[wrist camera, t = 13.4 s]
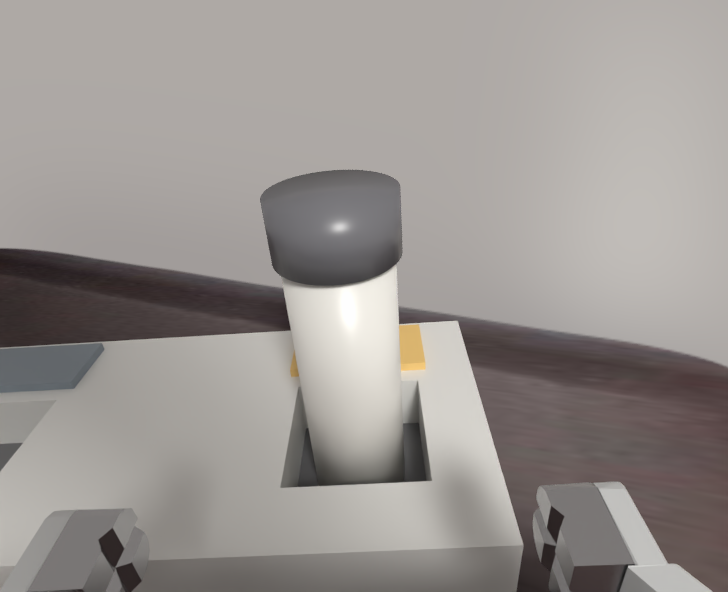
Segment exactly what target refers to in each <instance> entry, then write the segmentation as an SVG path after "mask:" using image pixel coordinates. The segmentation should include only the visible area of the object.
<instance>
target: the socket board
mask: <svg viewBox="0 0 728 592" xmlns="http://www.w3.org/2000/svg"><path fill="white" fill-rule="evenodd" d="M399 339H400V363H401V387H402V411H403V435H404V460H405V478H404V482H399V483H377V484H356V485H334V486H319V484H318V479H317V473H316V467H315V462H314V456H313V451H312V445H311V440H310V434H309V428H308V423H307V417H306V412H305V406H304V401H303V395H302V389H301V384H300V378H299V373H298V367H297V362H296V356H295V351H294V345H293V339H292V334H291V331H277V332H260V333H243V334H226V335H209V336H192V337H175V338H158V339H141V340H124V341H107V342H90V343H73V344H56V345H39V346H22V347H6V348H0V589H1V588H2V586H3V585H4V583H5V581H6V580H7V578H8V577H9V575H10V573H11V572H12V570H13V569H14V567H15V566H16V564H17V562H18V561H19V559H20V558H21V556H22V555H23V553H24V551H25V550H26V548H27V547H28V545H29V543H30V542H31V540H32V539H33V537H34V536H35V534H36V532H37V531H38V529H39V528H40V526H41V524H42V523H43V521H44V520H45V518H46V517H48V516H49V515H50V514H51V513H52V512H54V511H61V510H88V509H119V508H132V509H133V511H134V513H135V514H136V516H137V518H138V519H137V521H136V523H135V526H136V527H137V528H139V529H140V530H142V531H144V532H145V534H146V536H147V538H148V542H149V549H150V552H149V559H148V566H147V569H146V572H145V574H144V577H143V580H142V582H141V583H140V584H139V585H138V586H137V587H136V588H135V589H134V590H133V591H132V592H516V591H517V584H518V578H519V571H520V565H521V558H522V552H523V542H522V538H521V535H520V532H519V528H518V525H517V521H516V518H515V515H514V511H513V508H512V505H511V501H510V498H509V494H508V491H507V488H506V484H505V481H504V477H503V474H502V471H501V467H500V464H499V460H498V457H497V454H496V450H495V447H494V443H493V440H492V437H491V433H490V430H489V427H488V423H487V420H486V416H485V413H484V410H483V406H482V403H481V399H480V396H479V393H478V389H477V386H476V382H475V379H474V376H473V372H472V369H471V365H470V362H469V359H468V355H467V352H466V348H465V345H464V342H463V338H462V335H461V332H460V328H459V325H458V321H446V322H430V323H413V324H399Z"/></svg>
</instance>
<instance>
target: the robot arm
mask: <svg viewBox="0 0 728 592" xmlns="http://www.w3.org/2000/svg"><path fill="white" fill-rule="evenodd" d="M536 499H537V502H538V505H539V507H540V508H538V509H537V510H536V511H535V512H534V516H533V533H534V541H535V545H536V549H537V553H538V556H539V559H540V562H541V564H542V565H543V566H545V567H546V568H547V569H548V570H549V571H550V572H551V574H550V580H549V585H548V587H549V590H550V592H712V591H711V590H710V589H709V588H707V587H706V586H705V585H703V584H702V583H701V582H699V581H698V580H697V579H696V578H694V577H693V576H692V575H690V574H689V573H688V572H687V571H685V570H684V569H683V568H681V567H680V566H679V565H678V564H668V563H667V561H666V559H665V558H664V556H663V554H662V552H661V550H660V549H659V547H658V545H657V543H656V542H655V540H654V538H653V536H652V534H651V533H650V531H649V529H648V527H647V525H646V524H645V522H644V520H643V518H642V517H641V515H640V513H639V511H638V509H637V508H636V506H635V504H634V502H633V501H632V499H631V497H630V495H629V493H628V492H627V490H626V488H625V486H623V485H622V484H621V483H620V482H601V483H590V482H588V483H574V484H559V485H544V486H540V487H539V488H538V490H537V496H536ZM137 519H138V518H137V516H136V514H135V513H134V511H133V509H132V508H119V509H88V510H61V511H54V512H52V513H51V514H50V515H49V516H48V517H46V518H45V520H44V521H43V523H42V524H41V526H40V528H39V529H38V531H37V532H36V534H35V536H34V537H33V539H32V540H31V542H30V543H29V545H28V547H27V548H26V550H25V551H24V553H23V555H22V556H21V558H20V559H19V561H18V562H17V564H16V566H15V567H14V569H13V570H12V572H11V573H10V575H9V577H8V578H7V580H6V581H5V583H4V585H3V586H2V588H1V589H0V592H132V591H133V590H134V589H135V588H136V587H137V586H138V585H139V584H140V583H141V582H142V580H143V577H144V574H145V572H146V569H147V566H148V559H149V552H150V549H149V542H148V538H147V536H146V534H145V532H144V531H142V530H140V529H139V528H137V527H136V526H135V523H136V521H137Z"/></svg>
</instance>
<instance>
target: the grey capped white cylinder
mask: <svg viewBox="0 0 728 592" xmlns="http://www.w3.org/2000/svg"><path fill="white" fill-rule="evenodd" d="M260 202H261V208H262V213H263V218H264V224H265V229H266V234H267V239H268V245H269V250H270V255H271V261H272V266H273V268H274V270H275V271H276V272H277V273H278V274H279V275H280V276H281V278H282V284H283V289H284V295H285V300H286V306H287V312H288V317H289V323H290V328H291V334H292V339H293V345H294V351H295V356H296V362H297V367H298V373H299V378H300V384H301V389H302V395H303V401H304V406H305V412H306V417H307V423H308V428H309V434H310V440H311V445H312V451H313V456H314V462H315V467H316V473H317V479H318V484H319V486H334V485H356V484H377V483H399V482H404V478H405V460H404V435H403V411H402V387H401V363H400V339H399V315H398V293H397V267H396V264H397V262H398V261H399V260H400V258H401V256H402V226H401V225H402V224H401V196H400V184H399V182H398V181H397V180H395V179H394V178H392V177H390V176H388V175H385V174H382V173H377V172H371V171H363V170H333V171H323V172H316V173H310V174H306V175H301V176H297V177H293V178H290V179H287V180H284V181H282V182H279V183H277V184H275V185H273V186H271V187H269V188H268V189H267V190H265V191H264V193H263V194H262V195H261V198H260Z"/></svg>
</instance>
